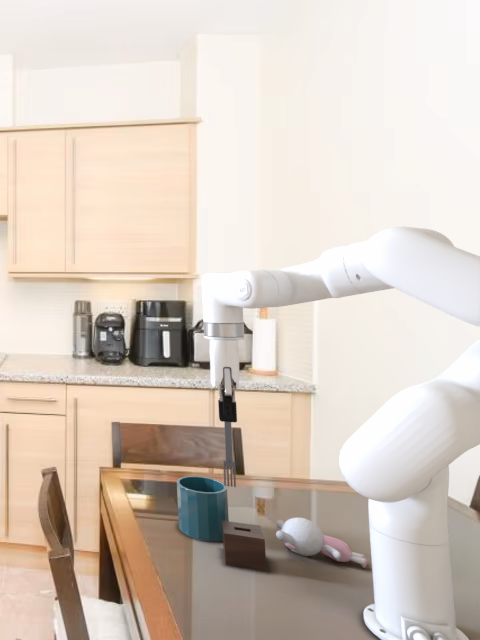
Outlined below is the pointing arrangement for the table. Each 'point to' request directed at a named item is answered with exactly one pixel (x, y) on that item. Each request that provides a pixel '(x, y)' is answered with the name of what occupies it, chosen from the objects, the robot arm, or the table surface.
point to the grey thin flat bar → (228, 455)
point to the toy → (314, 541)
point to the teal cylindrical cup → (202, 507)
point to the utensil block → (244, 545)
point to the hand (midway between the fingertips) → (228, 420)
